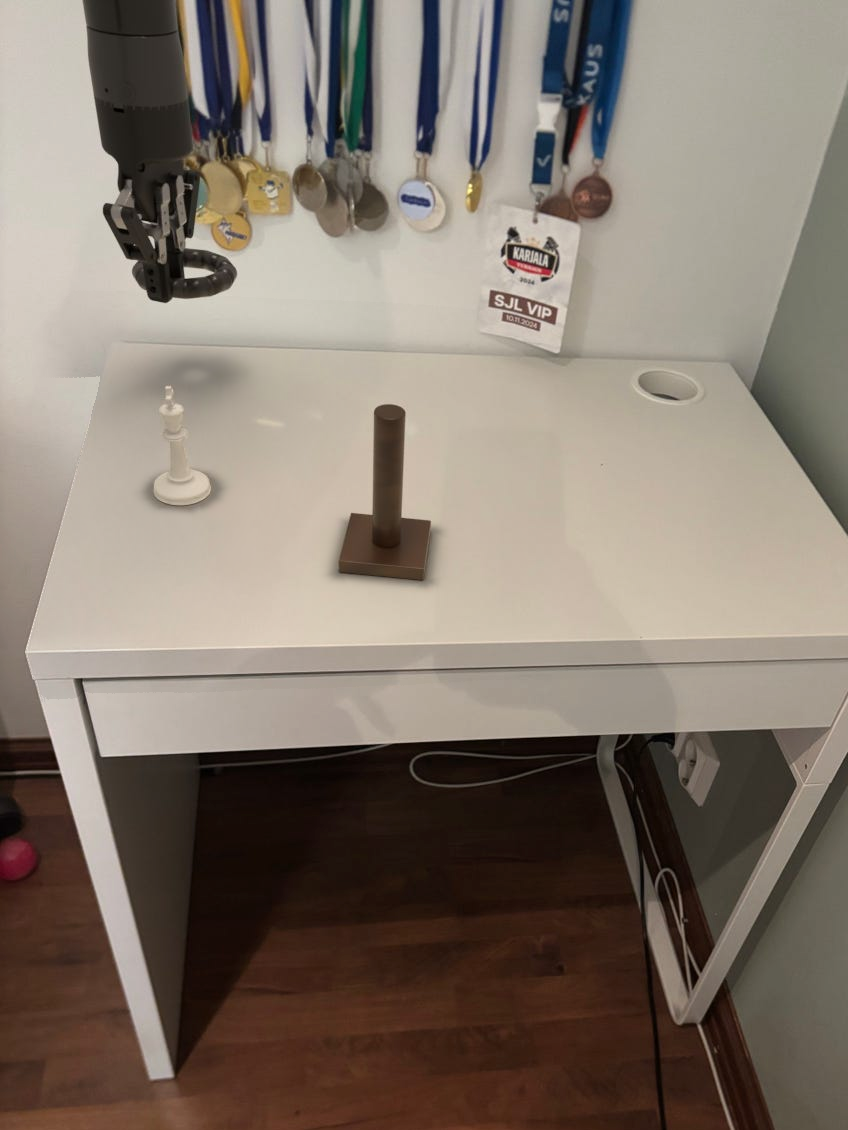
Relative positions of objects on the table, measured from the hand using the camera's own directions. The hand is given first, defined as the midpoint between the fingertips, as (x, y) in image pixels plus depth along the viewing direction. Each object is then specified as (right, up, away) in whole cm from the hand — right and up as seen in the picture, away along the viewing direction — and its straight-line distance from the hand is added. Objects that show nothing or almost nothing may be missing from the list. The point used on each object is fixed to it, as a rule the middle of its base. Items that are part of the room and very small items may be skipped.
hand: (167, 294), depth 91 cm
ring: (+1, +3, +2) cm, 4 cm away
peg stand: (+22, -25, -10) cm, 35 cm away
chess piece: (+3, -20, -5) cm, 21 cm away
